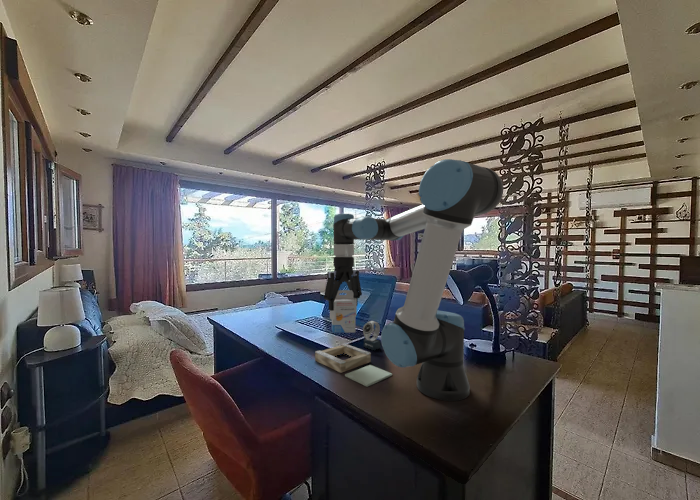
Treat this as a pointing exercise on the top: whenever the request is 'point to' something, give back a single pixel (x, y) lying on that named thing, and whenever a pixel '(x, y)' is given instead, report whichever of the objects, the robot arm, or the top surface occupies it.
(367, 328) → the watch
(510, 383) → the top surface
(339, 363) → the dispenser collar
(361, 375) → the mat
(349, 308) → the ink box
